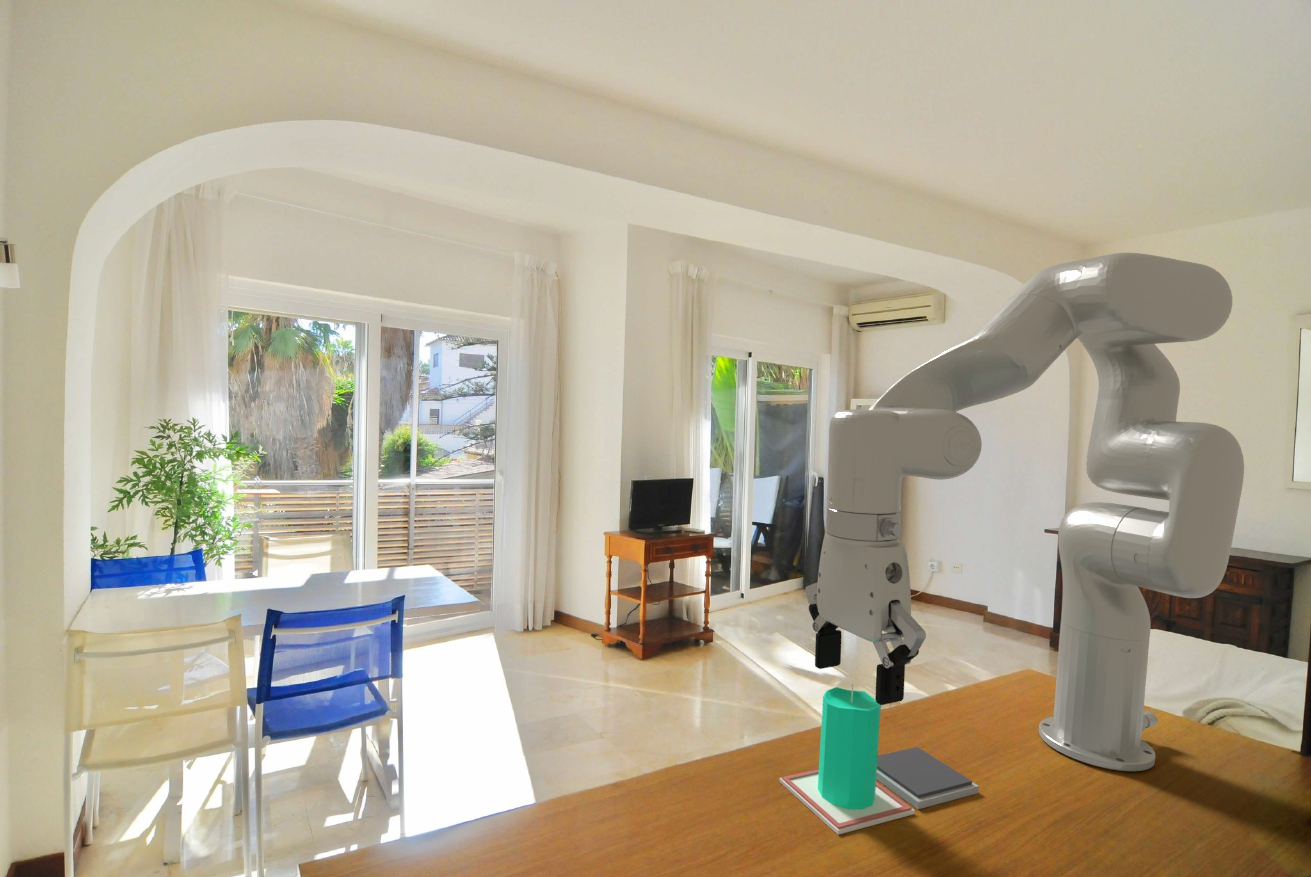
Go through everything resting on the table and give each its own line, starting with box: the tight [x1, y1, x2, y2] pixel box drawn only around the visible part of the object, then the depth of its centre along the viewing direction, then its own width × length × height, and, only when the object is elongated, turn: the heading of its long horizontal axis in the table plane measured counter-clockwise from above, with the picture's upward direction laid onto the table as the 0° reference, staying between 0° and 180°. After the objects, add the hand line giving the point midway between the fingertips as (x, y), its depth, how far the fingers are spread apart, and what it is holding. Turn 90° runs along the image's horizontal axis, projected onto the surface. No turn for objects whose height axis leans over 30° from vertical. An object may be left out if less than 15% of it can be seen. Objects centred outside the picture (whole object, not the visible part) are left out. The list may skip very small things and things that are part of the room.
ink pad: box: [876, 746, 980, 810], centre depth 78 cm, size 9×9×1 cm
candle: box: [818, 684, 882, 809], centre depth 73 cm, size 6×6×12 cm
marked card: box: [778, 768, 915, 836], centre depth 73 cm, size 10×10×1 cm
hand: (856, 683), depth 73 cm, fingers open, 9 cm apart
